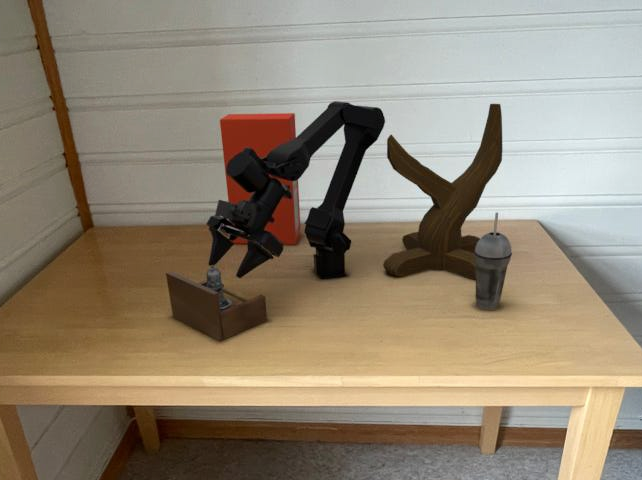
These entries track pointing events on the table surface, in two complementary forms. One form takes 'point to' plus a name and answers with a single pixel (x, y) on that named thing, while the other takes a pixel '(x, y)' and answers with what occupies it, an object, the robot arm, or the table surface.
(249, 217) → the robot arm
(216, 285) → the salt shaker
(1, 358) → the table surface
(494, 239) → the beverage cup
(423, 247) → the wooden stand
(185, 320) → the spice rack
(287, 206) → the file binder
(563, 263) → the table surface
